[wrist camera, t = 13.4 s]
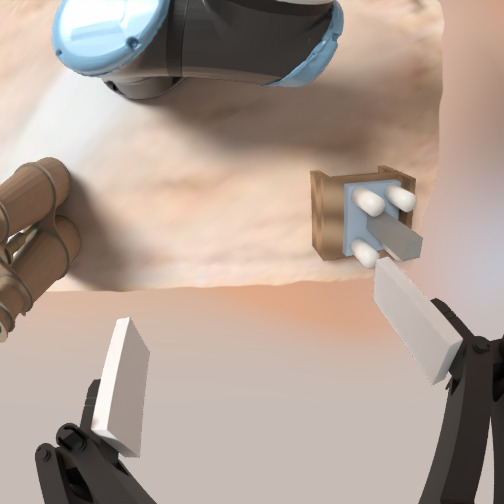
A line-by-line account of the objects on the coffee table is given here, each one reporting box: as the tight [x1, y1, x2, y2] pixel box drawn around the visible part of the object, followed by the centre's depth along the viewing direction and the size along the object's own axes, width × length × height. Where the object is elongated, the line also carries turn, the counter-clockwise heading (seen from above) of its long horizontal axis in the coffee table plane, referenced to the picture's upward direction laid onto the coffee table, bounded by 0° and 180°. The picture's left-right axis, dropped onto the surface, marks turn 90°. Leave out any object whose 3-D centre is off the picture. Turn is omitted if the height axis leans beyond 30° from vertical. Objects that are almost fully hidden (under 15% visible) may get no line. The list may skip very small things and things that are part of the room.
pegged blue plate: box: [343, 180, 423, 269], centre depth 41 cm, size 12×10×12 cm
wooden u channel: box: [310, 166, 416, 261], centre depth 47 cm, size 14×15×10 cm
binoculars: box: [0, 157, 81, 342], centre depth 32 cm, size 21×10×25 cm, turn 178°
